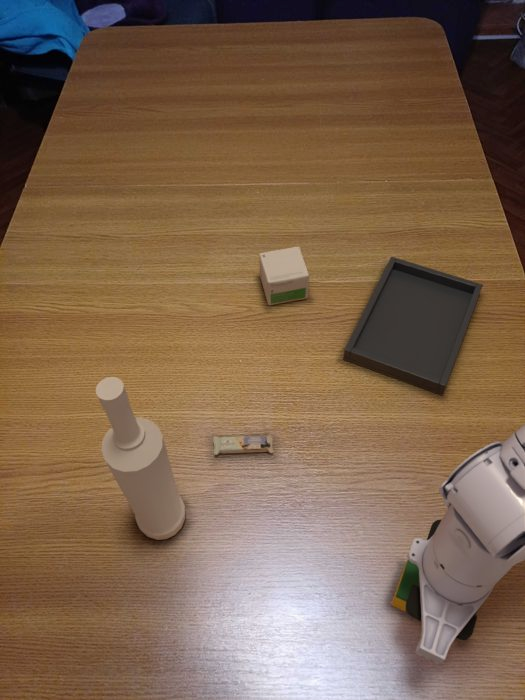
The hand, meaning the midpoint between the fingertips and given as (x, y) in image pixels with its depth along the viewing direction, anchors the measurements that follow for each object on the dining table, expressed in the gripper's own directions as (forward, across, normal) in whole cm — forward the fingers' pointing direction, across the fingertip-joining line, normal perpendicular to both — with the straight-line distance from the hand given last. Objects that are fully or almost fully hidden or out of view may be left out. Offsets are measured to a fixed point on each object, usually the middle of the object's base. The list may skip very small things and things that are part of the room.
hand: (435, 597), depth 58 cm
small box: (+2, -31, -30) cm, 43 cm away
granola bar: (+1, -7, -24) cm, 25 cm away
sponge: (+1, 0, 0) cm, 1 cm away
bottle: (+2, +4, -28) cm, 28 cm away
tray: (+1, -32, -12) cm, 34 cm away
